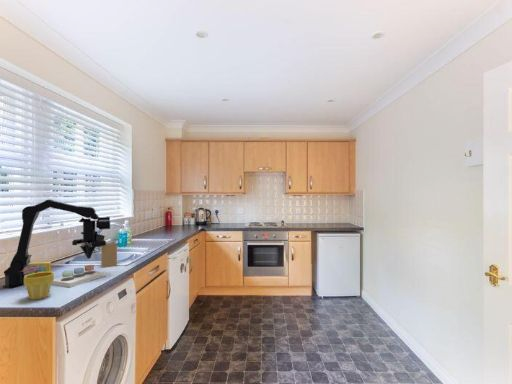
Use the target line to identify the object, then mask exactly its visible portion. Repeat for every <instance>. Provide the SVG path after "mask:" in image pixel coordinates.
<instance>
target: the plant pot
mask: <svg viewBox="0 0 512 384" xmlns="http://www.w3.org/2000/svg"><path fill="white" fill-rule="evenodd" d="M54 279H55V273H54V272H53V271H51V272H39V273H33V274H29V275H26V276H25V277H24V285H23V286H25V288H26V291H27V297H28V298H29V300H32V301H33V300H34V301H35V300H40V299H44V298H47V297H49V293H50V290H51V283H52V281H53V280H54Z"/></svg>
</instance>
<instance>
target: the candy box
mask: <svg viewBox="0 0 512 384" xmlns="http://www.w3.org/2000/svg"><path fill="white" fill-rule="evenodd" d="M22 272H24V274H25V276H26V275H29V274H33V273H39V272H52V262H51V261H47V262H44V261H42V262H40V261H39V262H37V261H36V262H30V263H29V264H28V265H27V266H26V267H25V268H24V269H23V271H22Z"/></svg>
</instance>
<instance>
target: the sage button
mask: <svg viewBox="0 0 512 384" xmlns="http://www.w3.org/2000/svg"><path fill="white" fill-rule="evenodd" d="M73 274H74V270H66V271H63V272H62V276H61V277H70V276H73Z"/></svg>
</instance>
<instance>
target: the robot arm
mask: <svg viewBox="0 0 512 384" xmlns="http://www.w3.org/2000/svg"><path fill="white" fill-rule="evenodd" d="M50 208H51V209H56V210H60V211H65V212H69V213H74V214H77V215H78V216H81V219H80V220H78V223H82V231H81V232H80V234H81V235H82V238H78V239H73V240H72V242H71V245H72V246H77V245H79V248H81V250H82V251H83V253H84V254H85V257H86V258H87V259H88V260H89V259H92V255H93V252H94V250H95V248H98V247H101V246H105V245H106V243H107V241H106V240H105V238H106V237H105V235H102V234H98V231H96V229H98V230H111V217H110V216H105V217H100V216H99V215H98V214H97V213H96V209H95V208H94V207H91V206H83V205H74V204H70V203H65V202H61V201H57V200H53V199H46V200H44V201H42V202H40V203H37V204H35V205H29V206H28V205H27V206H25V207H24V208H22V211H21V219H22V228H21V232H20V237H19V241H18V245H17V250H16V253H15V254H14V256H13V258H12V259H11V262H10V264H9V267H8V268H6V269H5V270H4V271H3V274H4V284H3V285H2V287H3V288H8V289H13V288H15V287H16V288H17V287H20V286H25V285H24V277H25V274H24V272H22V271H23V269H24V268H25V267H26V266H27V265H28V264H29V263H31V257H32V256H33V254H29V247H30V243H31V238H32V234H33V229H34V225H35V223H36V221H37V220H38V217H39V215H40V213H41V212H43V211H45V210H47V209H50Z"/></svg>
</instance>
